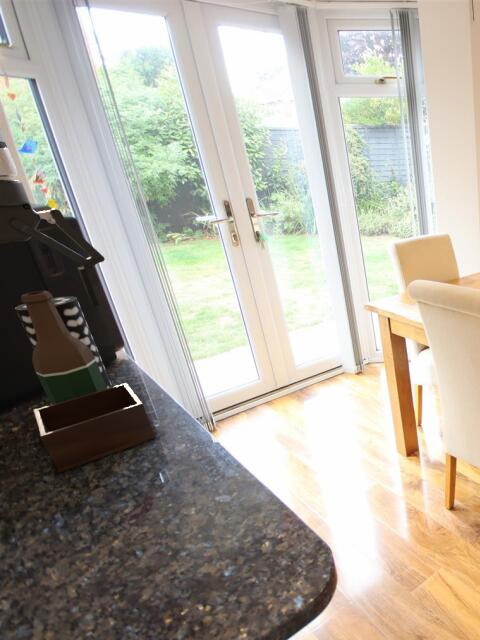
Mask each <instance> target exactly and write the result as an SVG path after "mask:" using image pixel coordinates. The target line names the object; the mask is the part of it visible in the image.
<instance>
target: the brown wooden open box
mask: <svg viewBox="0 0 480 640" xmlns="http://www.w3.org/2000/svg"><path fill="white" fill-rule="evenodd" d="M33 415H34V418H35V420H36V425H37V429H38V431H39V435H40V438H41V440H42V442H43V444H44V446H45V448H46V450H47V452H48V455H49V456H50V458H51V460H52V462H53V465H54V466H55V469H56V471H57V472H58V474H62V473H65V472H67V471H69V470H72V469H75V468H77V467H80V466H83V465H87V464H89V463H91V462H94V461H96V460H99V459H102V458H105V457H108V456H110V455H113V454H115V453H118V452H121V451H124V450H126V449H130V448H132V447H134V446H137V445H139V444H143V443H146V442H148V441H150V440H153V439H155V438H156V435H155V432H154V429H153V427H152V424H151V422H150V419H149V417H148V414H147V411H146V409H145V406H144V403H143V402H142V400H140V398H139V397H138V396H137V394H136V393H135V391H134V390H133V389H132V388H131V387H130V385H129V384H128V383H127V382H125V383H121V384H118V385H113V386H112V387H111V388H107V389H104V390H100V391H97V392H93V393H90V394H86V395H83V396H80V397H76V398H73V399H69V400H66V401H62V402H59V403H56V404H52V405H51V404H49V405H45V406H42V407H39V408H35V409H33Z"/></svg>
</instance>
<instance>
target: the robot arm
mask: <svg viewBox="0 0 480 640" xmlns="http://www.w3.org/2000/svg"><path fill="white" fill-rule="evenodd" d="M6 143H7V142H6V139H5V136H4V134H3V131H2V129H1V128H0V245H5V244H8V243H11V242H15V243H23V242H27V241H29V240H30V239H31V238H32V239H35V240H37V241H38V242H40V243H42V244H44V245H45V246H47V247H50V248H51V249H53V250H54V251H56V252H58V253H60V254H61V255H63V256H65V257H67V258H69V259H70V260H72V261H74V262H76V263H78V264H79V265H81V266H79V267H77V272H78V273H79V276H80V279H81V281H82V284H83V286H84V289H85V291H86V294H87V297H88V299H89V302H90V304H91V305H92V306H93V307H97V306H100V305H99V304H100V303H99V302H98V298H97V296H96V293H95V290H94V288H93V287H95V286H99V284H100V281H99V278H98V276H97V273H96V270H95V266H96V265H98V264H99V263H103V262H104V261H106V260H105V256H104V255H102V254H101V253H100V252H99V251H98V250H97V249H96V248H95V247H94V246H93V245H92V244H91V243H89V241H88V240H86V239H85V238H84V237H83V236H82V235H80V234H79V233H78V231H76V229H74V228H73V227H72V226H71V225H70V224H69V223H67V221H66V219H65V217H64V215H63V213H62V212H61V210H59V209H57V208H50V209H49V210H43V211H38V212H37V211H36V210H35V209H34V208H33V206H32V203H31V201H30V200H29V197H28V194H27V191H26V189H25V186H24V184H23V182H22V181H20V180H18V179H16V178H15V177H17V176H18V175H19V171H18V169H17V167H16V164H15V162H14V159H13V156H12V154H11V152H10V150H9V147H8V146H7V144H6ZM41 220H46V222H47V223H49V224H50V225H51V224H52V225H56V226H57V227H58V228H59V229H60V230H61V231H62V232H64V233H65V234H66V235H67V236H68V237H69V238H70V239H71V240H73V242H74V243H76V244H77V245H78V246H79V247H80V248H81V249H82V250H84V252H86V253H87V254H88V255H89V257H87V258H86V257H84V256H82V255H81V254H80V253H77V252H76V251H74V250H72V249H70V248H69V247H67V246H66V245H64V244H62V243H61V242H58V241H57V240H55V239H54V238H52V237H50V236H48V235H46V234H44V233H43V232H41V231H40V230H37V228H38V226H39V224H40V222H41Z"/></svg>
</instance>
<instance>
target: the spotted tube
mask: <svg viewBox="0 0 480 640" xmlns="http://www.w3.org/2000/svg"><path fill="white" fill-rule="evenodd" d="M52 301H53V303H54V305H55V307H56V309H57V311H58V313H59V315H60V317H61V319H62V321H63V322H64V324H65V326H66V328H67V329H68V331H69V332H70V334H71V335H72V336H74V337H75V338H77V339H78V340H80V341H82V342H83V343H84V344H85V345H86V346H87V347H88V348H89V349H90V350H91V352H92V354H93V355H94V357H95V359H96V362H97V364H98V367H99V369H100V372H101V374H102V377H103V379H104V381H105V384H106V386H107V388H111V387H113V385H112V383H111V380H110V377H109V375H108V372H107V370H106V367H105V365H104V362H103V360H102V357H101V354H100V352H99V350H98V347H97V344H96V343H95V340H94V337H93V335H92V333H91V330H90V328H89V325H88V323H87V320H86V318H85V316H84V313H83V310H82V308H81V305H80V303H79V300H78V298H77V297H76V296H58V297H52ZM14 310H15V311H16V313H17V316H18V318H19V320H20V323H21V324H22V328H23V329H24V331H25V334H26V336H27V338H28V340H29V341H30V345H31V347H32V348H33V350H34V348H35V346H36V344H37V337H36V332H35V330H34V327H33V324H32V321H31V318H30V315H29V313H28V310H27V307H26V304H25V303H23V304H20V305H17V306H15V308H14Z"/></svg>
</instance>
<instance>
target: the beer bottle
mask: <svg viewBox="0 0 480 640" xmlns="http://www.w3.org/2000/svg"><path fill="white" fill-rule="evenodd" d="M52 298H54V295H53V294H52V293H51V292H50V291H48V290H37V291H31V292H26V293H24V294H22V295H21V296H20V302H21V303H23V304H26V307H27V310H28V313H29V315H30V318H31V321H32V324H33V327H34V330H35V332H36V337H37V344H36V346H35V348H34V349H33V350H32V359H31V360H32V362H31V363H32V365H33V368H34V371H35V373H36V376H37V378H38V380H39V382H40V384H41V386H42V389H43V391H44V393H45V395H46V397H47V398H48V402H49V404H50V405H52V404H56V403H59V402H62V401H66V400H69V399H73V398H76V397H80V396H83V395H86V394H90V393H93V392H97V391H100V390H104V389H107V386H106V384H105V381H104V379H103V377H102V374H101V372H100V369H99V367H98V364H97V362H96V359H95V357H94V355H93V354H92V352H91V350H90V349H89V348H88V347H87V346H86V345H85V344H84V343H83V342H82V341H80V340H78V339H77V338H75V337H74V336H72V335H71V334H70V332H69V331H68V329H67V328H66V326H65V324H64V322H63V321H62V319H61V317H60V315H59V313H58V311H57V309H56V307H55V305H54V303H53V301H52Z"/></svg>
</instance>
